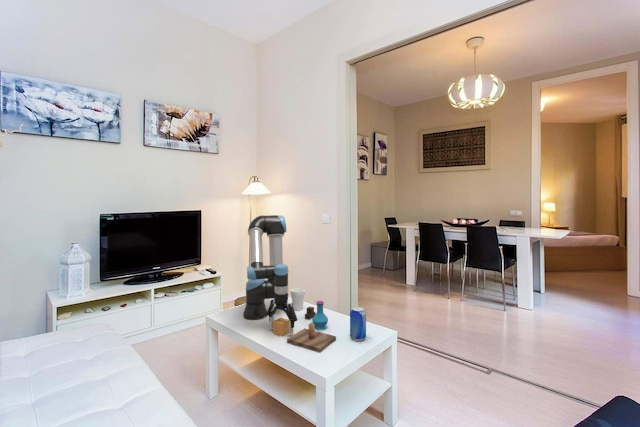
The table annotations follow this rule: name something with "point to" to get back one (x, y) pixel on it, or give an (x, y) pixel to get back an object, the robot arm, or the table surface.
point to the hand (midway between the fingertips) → (281, 330)
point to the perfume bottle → (320, 317)
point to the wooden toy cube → (281, 326)
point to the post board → (311, 339)
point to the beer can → (358, 324)
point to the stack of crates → (310, 313)
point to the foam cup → (297, 298)
